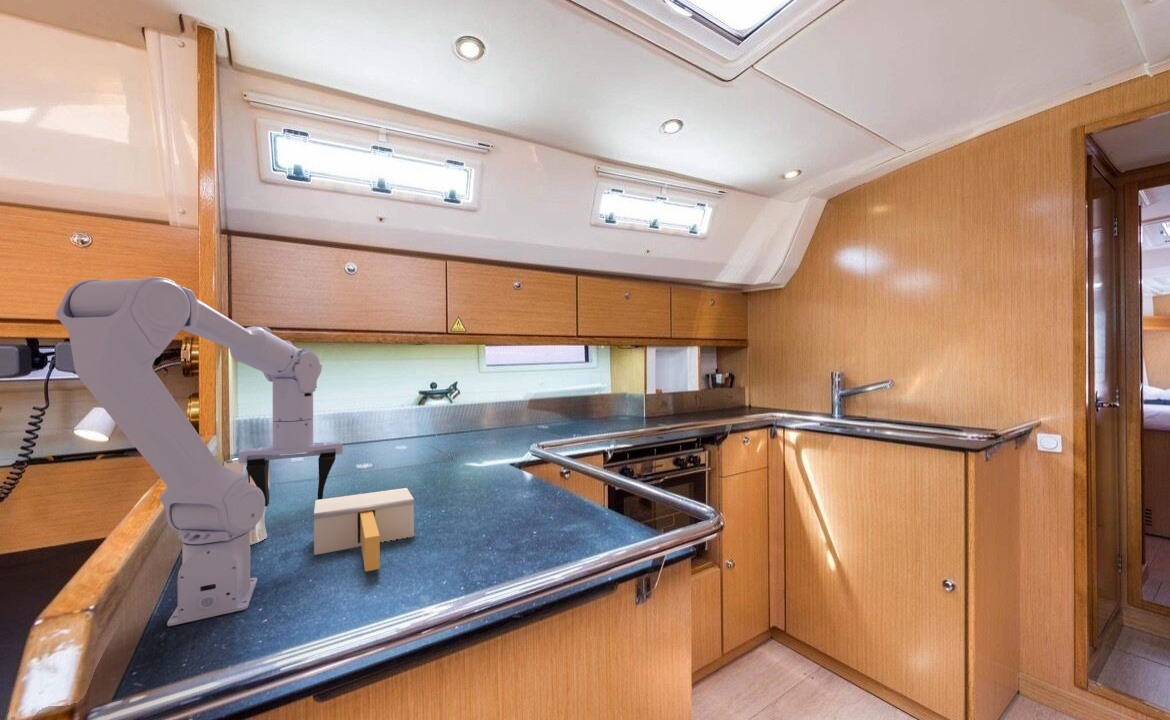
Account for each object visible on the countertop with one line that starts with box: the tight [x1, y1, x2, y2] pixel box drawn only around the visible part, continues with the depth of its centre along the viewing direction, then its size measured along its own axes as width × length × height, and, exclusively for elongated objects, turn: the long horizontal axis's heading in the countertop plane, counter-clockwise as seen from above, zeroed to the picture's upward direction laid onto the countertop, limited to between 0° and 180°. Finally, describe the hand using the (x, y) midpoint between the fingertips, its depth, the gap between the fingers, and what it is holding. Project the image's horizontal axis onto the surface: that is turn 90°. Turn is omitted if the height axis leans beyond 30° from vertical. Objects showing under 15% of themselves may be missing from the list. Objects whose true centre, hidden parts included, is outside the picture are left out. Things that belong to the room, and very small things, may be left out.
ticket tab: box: [360, 510, 381, 572], centre depth 74 cm, size 14×2×5 cm, turn 29°
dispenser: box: [313, 487, 415, 556], centre depth 84 cm, size 10×16×7 cm, turn 119°
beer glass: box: [223, 458, 271, 546], centre depth 83 cm, size 7×7×15 cm
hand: (293, 501), depth 75 cm, fingers open, 7 cm apart
